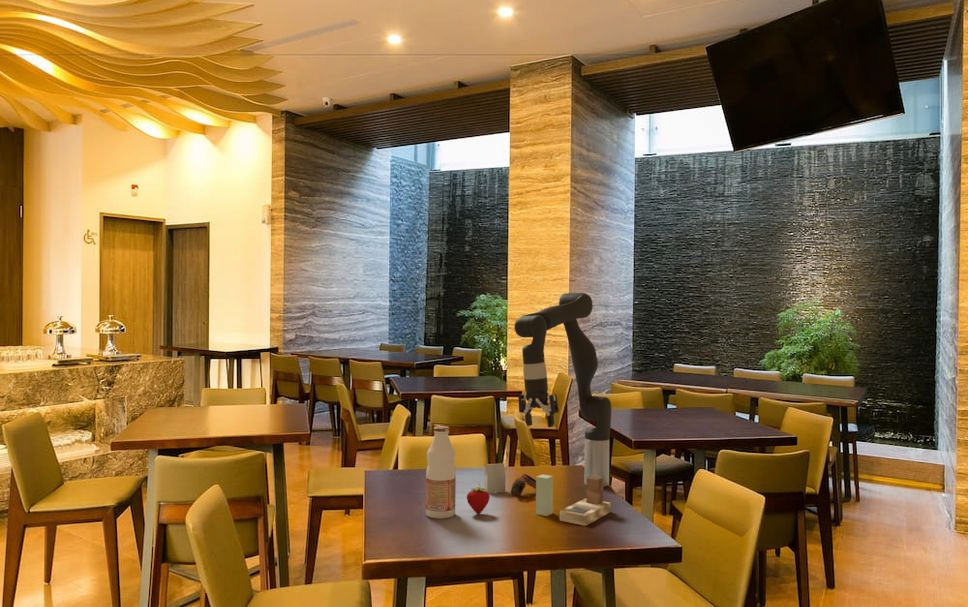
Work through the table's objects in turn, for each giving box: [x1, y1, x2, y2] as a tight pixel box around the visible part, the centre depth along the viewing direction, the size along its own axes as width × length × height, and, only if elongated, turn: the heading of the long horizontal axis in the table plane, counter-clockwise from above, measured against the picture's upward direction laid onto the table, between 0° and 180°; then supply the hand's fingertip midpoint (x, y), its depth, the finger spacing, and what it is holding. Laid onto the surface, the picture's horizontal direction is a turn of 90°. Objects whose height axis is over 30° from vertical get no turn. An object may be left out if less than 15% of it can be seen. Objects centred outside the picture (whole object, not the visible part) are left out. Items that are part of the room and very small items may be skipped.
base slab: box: [559, 476, 612, 527], centre depth 219 cm, size 18×9×11 cm, turn 145°
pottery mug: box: [510, 473, 536, 497], centre depth 243 cm, size 12×10×8 cm
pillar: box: [535, 473, 554, 517], centre depth 221 cm, size 4×4×12 cm
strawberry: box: [466, 481, 490, 515], centre depth 220 cm, size 6×8×10 cm
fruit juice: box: [425, 425, 457, 520], centre depth 219 cm, size 9×9×28 cm
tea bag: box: [484, 463, 506, 494], centre depth 248 cm, size 4×7×10 cm, turn 106°
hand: (539, 426), depth 223 cm, fingers open, 8 cm apart
